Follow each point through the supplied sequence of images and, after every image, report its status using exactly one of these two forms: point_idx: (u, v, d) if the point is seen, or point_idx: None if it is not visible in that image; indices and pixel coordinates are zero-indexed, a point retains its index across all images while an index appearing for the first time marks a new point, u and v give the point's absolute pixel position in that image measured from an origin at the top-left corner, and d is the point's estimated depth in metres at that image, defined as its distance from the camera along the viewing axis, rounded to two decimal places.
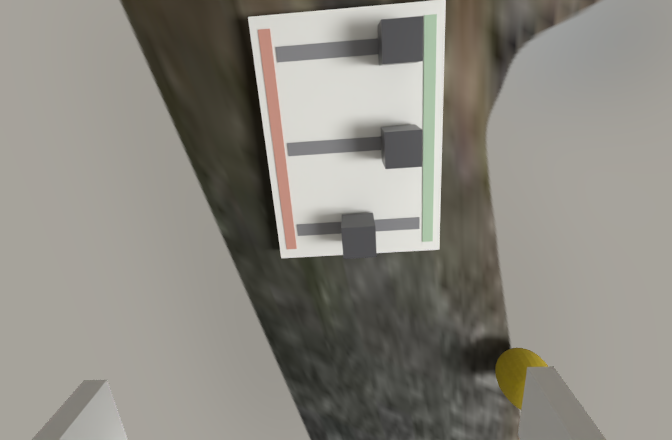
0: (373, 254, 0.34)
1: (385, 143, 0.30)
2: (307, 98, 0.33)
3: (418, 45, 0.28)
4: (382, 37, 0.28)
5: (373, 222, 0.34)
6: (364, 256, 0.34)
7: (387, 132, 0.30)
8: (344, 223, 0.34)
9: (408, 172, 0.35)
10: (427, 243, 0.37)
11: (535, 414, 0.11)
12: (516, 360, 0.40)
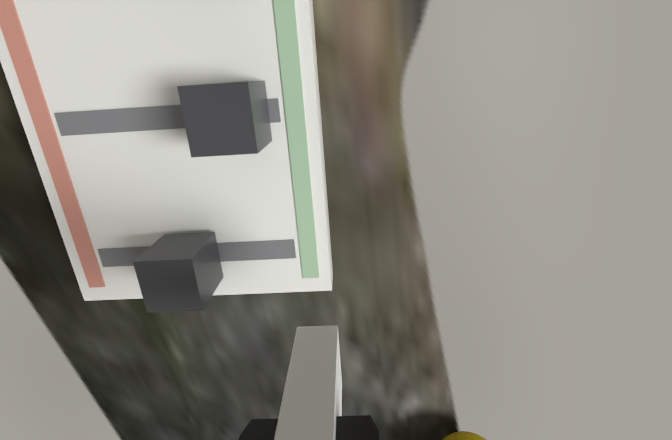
0: (197, 306, 0.20)
1: (183, 108, 0.16)
2: (74, 32, 0.19)
3: None
4: None
5: (196, 251, 0.19)
6: (182, 309, 0.20)
7: (184, 87, 0.16)
8: (149, 251, 0.20)
9: (267, 165, 0.21)
10: (311, 280, 0.23)
11: None
12: None
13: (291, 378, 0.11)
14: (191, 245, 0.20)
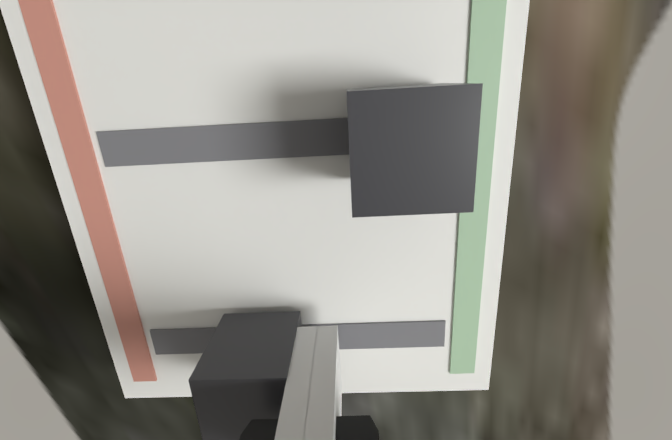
0: None
1: (351, 132, 0.09)
2: (135, 2, 0.11)
3: None
4: None
5: (287, 357, 0.12)
6: None
7: (358, 93, 0.08)
8: (210, 355, 0.12)
9: (422, 214, 0.13)
10: (461, 376, 0.16)
11: None
12: None
13: (291, 378, 0.11)
14: (274, 342, 0.13)
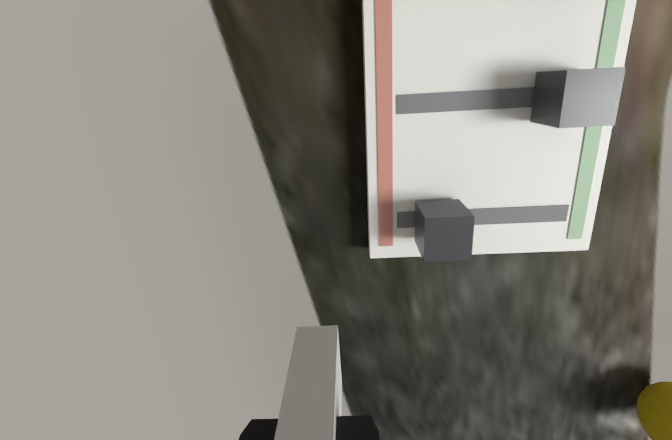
0: (467, 256, 0.24)
1: (565, 88, 0.20)
2: (433, 28, 0.23)
3: None
4: None
5: (468, 211, 0.24)
6: (454, 259, 0.24)
7: (571, 71, 0.20)
8: (426, 212, 0.24)
9: (563, 141, 0.25)
10: (573, 241, 0.27)
11: None
12: None
13: (291, 378, 0.11)
14: (456, 207, 0.24)
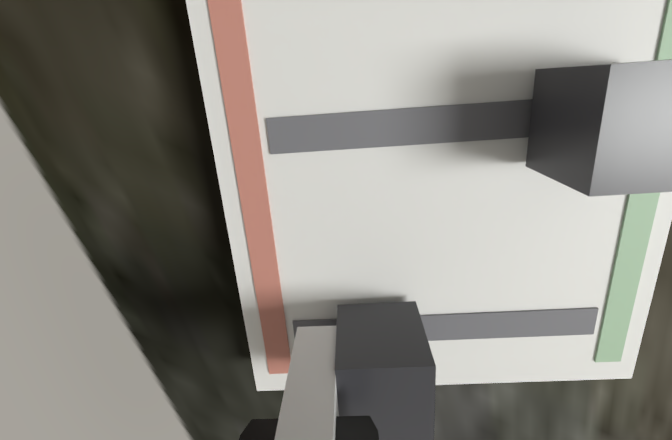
0: (425, 434, 0.12)
1: (606, 107, 0.09)
2: None
3: None
4: None
5: (426, 346, 0.12)
6: (400, 438, 0.12)
7: (620, 66, 0.08)
8: (344, 345, 0.12)
9: (589, 198, 0.13)
10: (606, 365, 0.16)
11: None
12: None
13: (291, 378, 0.11)
14: (405, 331, 0.13)
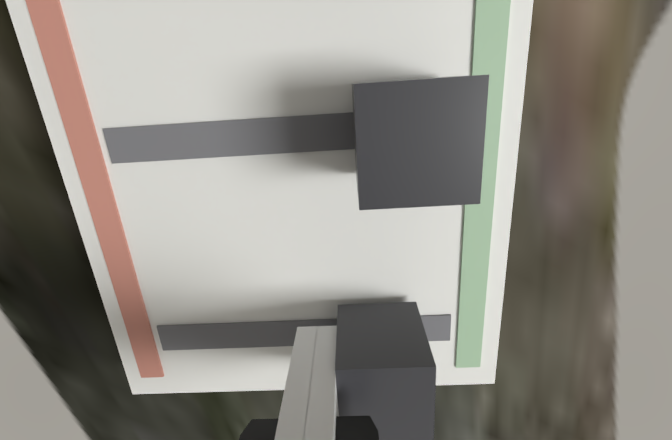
0: (425, 435, 0.12)
1: (358, 124, 0.09)
2: None
3: None
4: None
5: (426, 346, 0.12)
6: (399, 439, 0.12)
7: (364, 85, 0.09)
8: (345, 345, 0.12)
9: (427, 208, 0.13)
10: (467, 370, 0.16)
11: None
12: None
13: (291, 378, 0.11)
14: (405, 332, 0.13)
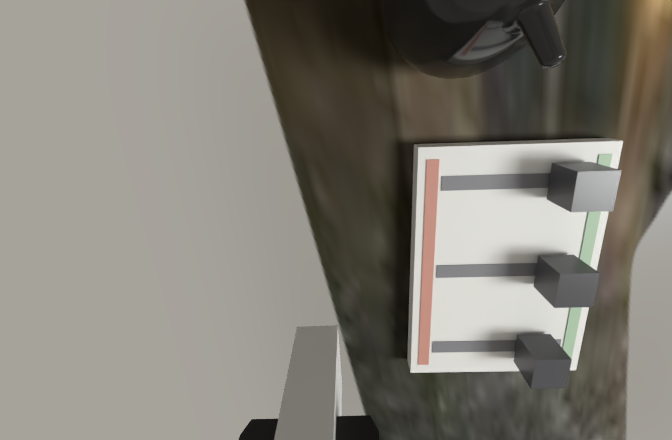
0: (563, 385, 0.32)
1: (559, 284, 0.29)
2: (465, 224, 0.32)
3: (611, 196, 0.27)
4: (575, 187, 0.27)
5: (564, 352, 0.32)
6: (553, 387, 0.32)
7: (562, 274, 0.29)
8: (532, 351, 0.33)
9: None
10: None
11: None
12: None
13: (291, 378, 0.11)
14: (553, 346, 0.33)
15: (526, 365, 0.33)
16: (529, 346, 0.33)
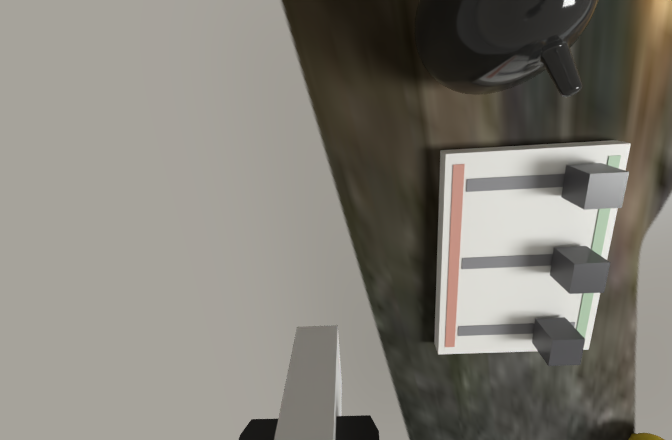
0: (577, 362, 0.36)
1: (573, 272, 0.33)
2: (488, 221, 0.36)
3: (620, 195, 0.30)
4: (588, 187, 0.30)
5: (578, 333, 0.36)
6: (568, 364, 0.36)
7: (577, 263, 0.33)
8: (549, 332, 0.37)
9: None
10: None
11: None
12: None
13: (291, 378, 0.11)
14: (568, 328, 0.37)
15: (544, 345, 0.37)
16: (546, 328, 0.37)
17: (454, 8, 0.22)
